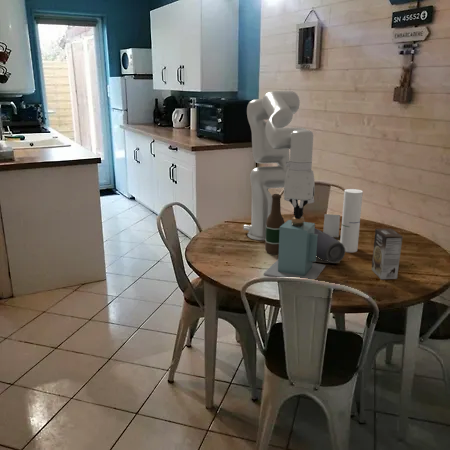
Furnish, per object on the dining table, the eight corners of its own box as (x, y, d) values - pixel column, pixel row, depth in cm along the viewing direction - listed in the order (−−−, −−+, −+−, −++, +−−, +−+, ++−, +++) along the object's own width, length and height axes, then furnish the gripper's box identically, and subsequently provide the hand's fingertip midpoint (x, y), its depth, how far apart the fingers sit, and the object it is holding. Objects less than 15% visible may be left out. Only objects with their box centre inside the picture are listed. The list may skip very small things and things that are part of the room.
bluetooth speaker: (295, 248, 194) (296, 225, 191) (314, 245, 197) (316, 223, 194) (324, 267, 173) (326, 242, 170) (345, 264, 176) (347, 239, 173)
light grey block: (338, 237, 207) (340, 216, 205) (323, 236, 209) (324, 215, 206) (338, 234, 211) (339, 213, 208) (323, 234, 212) (324, 213, 209)
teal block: (263, 274, 166) (265, 228, 161) (280, 258, 182) (281, 215, 177) (312, 284, 159) (315, 235, 154) (325, 266, 174) (328, 221, 169)
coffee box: (370, 269, 171) (374, 228, 167) (387, 269, 172) (391, 228, 167) (380, 279, 163) (385, 236, 158) (398, 279, 163) (403, 235, 158)
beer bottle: (271, 255, 185) (273, 197, 178) (261, 249, 191) (262, 193, 184) (287, 252, 188) (290, 195, 181) (276, 247, 195) (279, 191, 188)
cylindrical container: (357, 252, 188) (363, 193, 181) (340, 251, 190) (344, 192, 182) (356, 247, 195) (362, 189, 188) (339, 245, 196) (344, 188, 189)
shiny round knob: (283, 261, 167) (285, 218, 163) (289, 255, 174) (291, 213, 169) (302, 264, 164) (304, 221, 160) (308, 258, 171) (310, 216, 166)
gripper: (276, 166, 159) (274, 217, 164) (319, 169, 152) (315, 222, 158) (283, 163, 165) (281, 212, 170) (324, 166, 159) (321, 217, 164)
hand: (298, 217), depth 164 cm, fingers closed
